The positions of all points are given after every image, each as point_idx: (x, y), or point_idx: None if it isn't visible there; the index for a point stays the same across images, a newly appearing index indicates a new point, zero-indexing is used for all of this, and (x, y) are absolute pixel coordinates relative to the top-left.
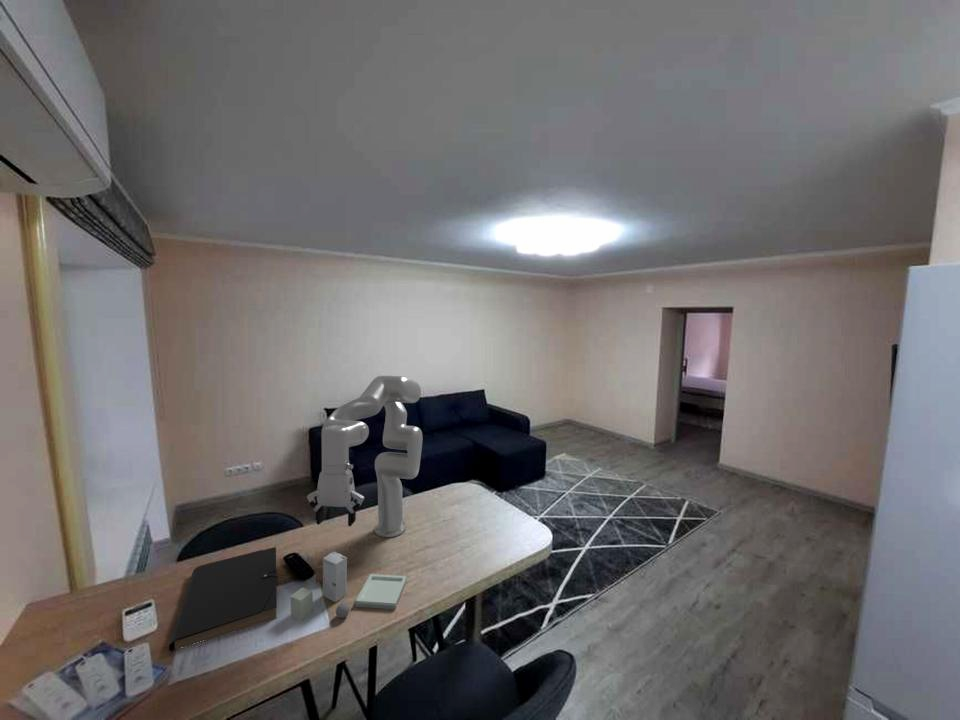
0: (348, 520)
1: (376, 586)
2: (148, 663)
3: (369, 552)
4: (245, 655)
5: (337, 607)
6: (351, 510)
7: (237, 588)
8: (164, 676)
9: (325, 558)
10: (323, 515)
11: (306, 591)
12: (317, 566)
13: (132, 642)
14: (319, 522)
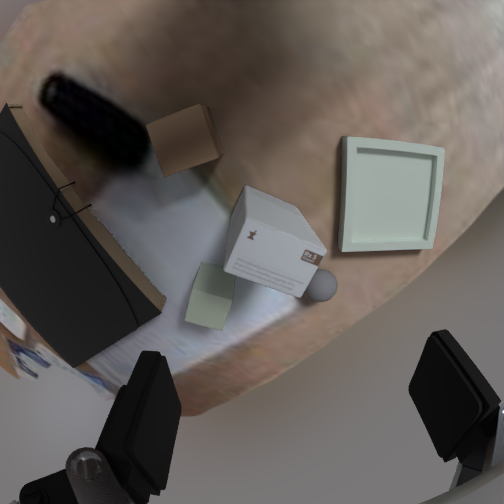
0: (425, 419)
1: (376, 182)
2: (74, 370)
3: (280, 9)
4: (181, 366)
5: (311, 295)
6: (472, 469)
7: (40, 265)
8: (110, 386)
9: (235, 272)
10: (153, 390)
11: (215, 301)
12: (165, 168)
13: (27, 342)
14: (177, 414)
